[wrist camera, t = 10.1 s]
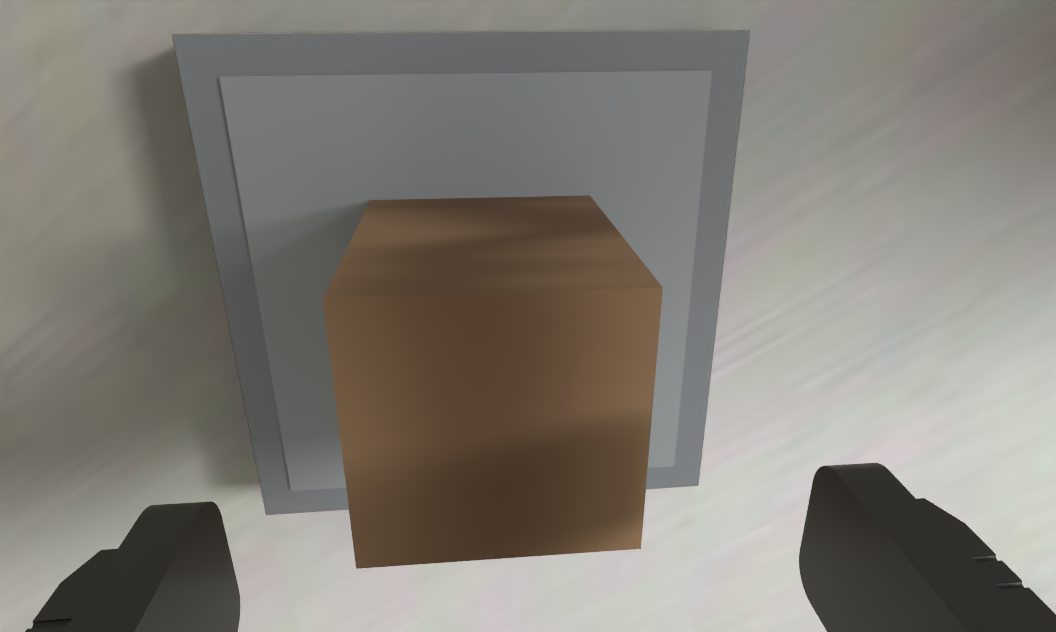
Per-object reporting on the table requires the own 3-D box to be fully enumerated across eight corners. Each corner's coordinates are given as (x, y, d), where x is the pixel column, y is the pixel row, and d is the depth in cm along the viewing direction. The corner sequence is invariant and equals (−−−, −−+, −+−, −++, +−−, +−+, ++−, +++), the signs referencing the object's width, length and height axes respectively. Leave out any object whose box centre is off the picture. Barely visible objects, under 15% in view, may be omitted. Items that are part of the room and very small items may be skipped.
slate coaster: (717, 29, 17) (751, 30, 15) (677, 446, 21) (699, 488, 19) (205, 33, 16) (170, 34, 14) (282, 470, 20) (265, 517, 18)
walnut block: (590, 195, 16) (663, 287, 10) (582, 385, 18) (640, 548, 12) (369, 200, 15) (322, 299, 10) (387, 395, 17) (356, 568, 12)
